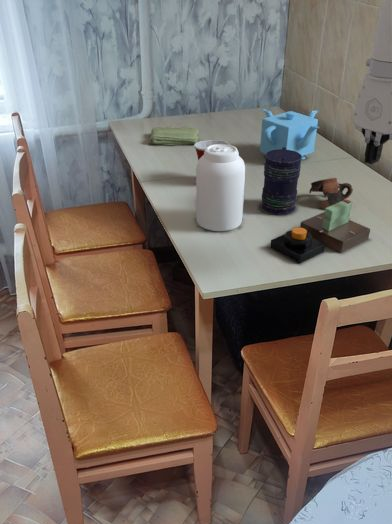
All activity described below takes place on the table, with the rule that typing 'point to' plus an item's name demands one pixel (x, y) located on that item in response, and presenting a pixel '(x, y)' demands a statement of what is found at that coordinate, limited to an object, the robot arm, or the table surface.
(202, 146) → the plastic cup
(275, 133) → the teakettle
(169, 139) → the washcloth
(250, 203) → the table surface
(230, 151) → the can
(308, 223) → the base
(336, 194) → the pottery mug
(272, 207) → the storage jar
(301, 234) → the button
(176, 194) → the table surface
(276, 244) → the button block
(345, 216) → the pale green flat block
